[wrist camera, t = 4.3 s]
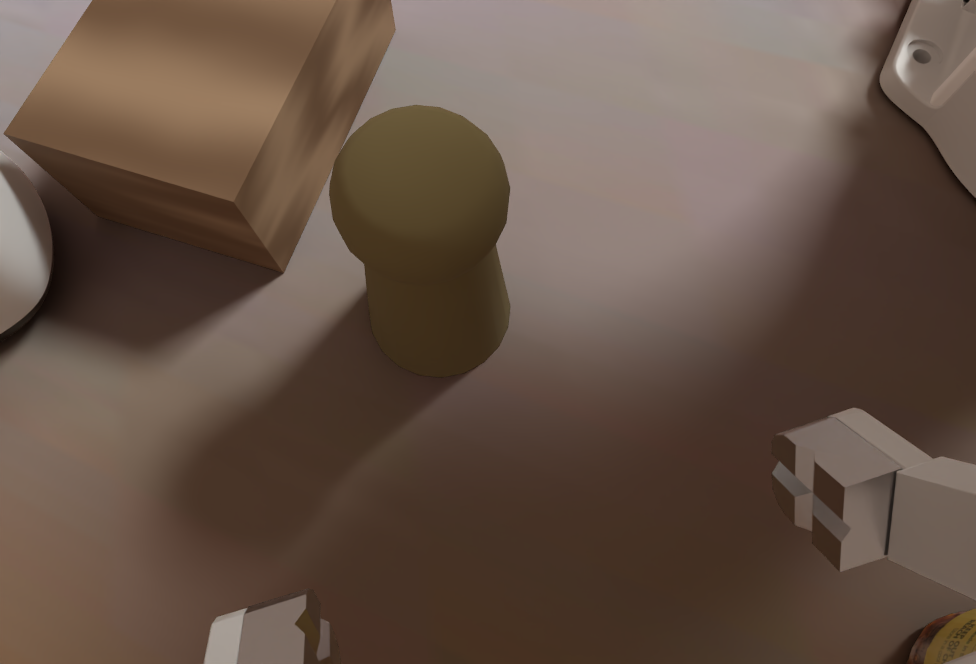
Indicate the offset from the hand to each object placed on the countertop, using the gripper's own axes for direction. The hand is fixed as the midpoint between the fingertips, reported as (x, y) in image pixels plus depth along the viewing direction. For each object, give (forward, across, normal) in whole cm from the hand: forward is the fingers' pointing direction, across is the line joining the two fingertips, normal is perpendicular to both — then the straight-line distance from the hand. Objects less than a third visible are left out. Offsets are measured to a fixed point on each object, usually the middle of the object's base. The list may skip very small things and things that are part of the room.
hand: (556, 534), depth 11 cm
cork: (+17, 0, +3) cm, 18 cm away
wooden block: (+26, +6, -5) cm, 27 cm away
